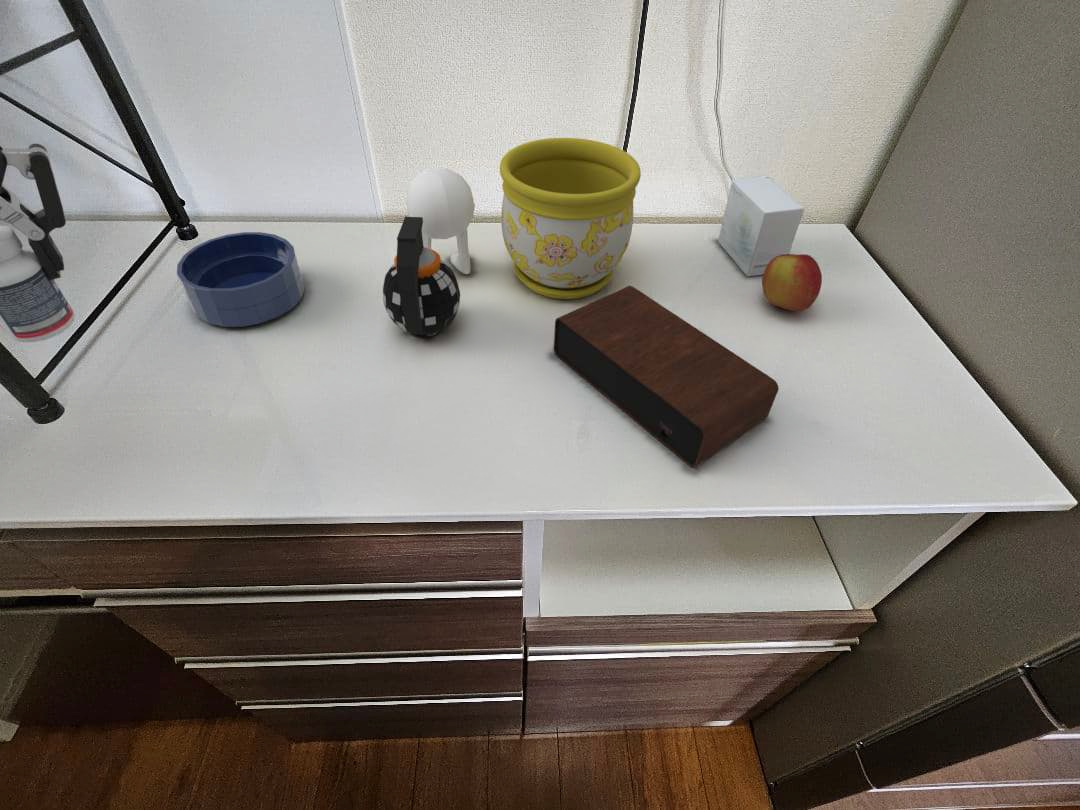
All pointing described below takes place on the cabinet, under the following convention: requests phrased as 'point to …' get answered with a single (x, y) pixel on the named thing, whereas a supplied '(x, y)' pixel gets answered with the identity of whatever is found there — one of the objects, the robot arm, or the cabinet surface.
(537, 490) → the cabinet surface
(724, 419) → the alarm clock
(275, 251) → the basin
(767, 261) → the cosmetics box
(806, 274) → the apple
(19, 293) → the pill bottle
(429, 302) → the grenade
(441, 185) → the toy character
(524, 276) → the flowerpot
